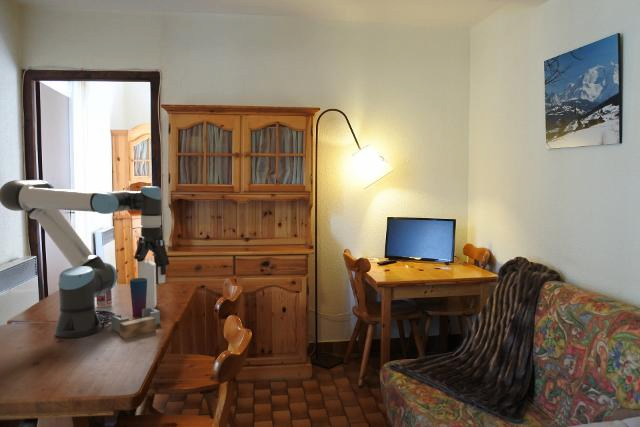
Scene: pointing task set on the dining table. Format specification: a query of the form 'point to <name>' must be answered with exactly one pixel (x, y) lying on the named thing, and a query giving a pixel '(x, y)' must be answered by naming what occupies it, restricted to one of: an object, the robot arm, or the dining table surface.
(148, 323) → the slat
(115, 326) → the grey u-shaped bracket
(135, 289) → the cup
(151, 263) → the milk
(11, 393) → the dining table surface
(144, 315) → the endcap far
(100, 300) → the pill bottle
